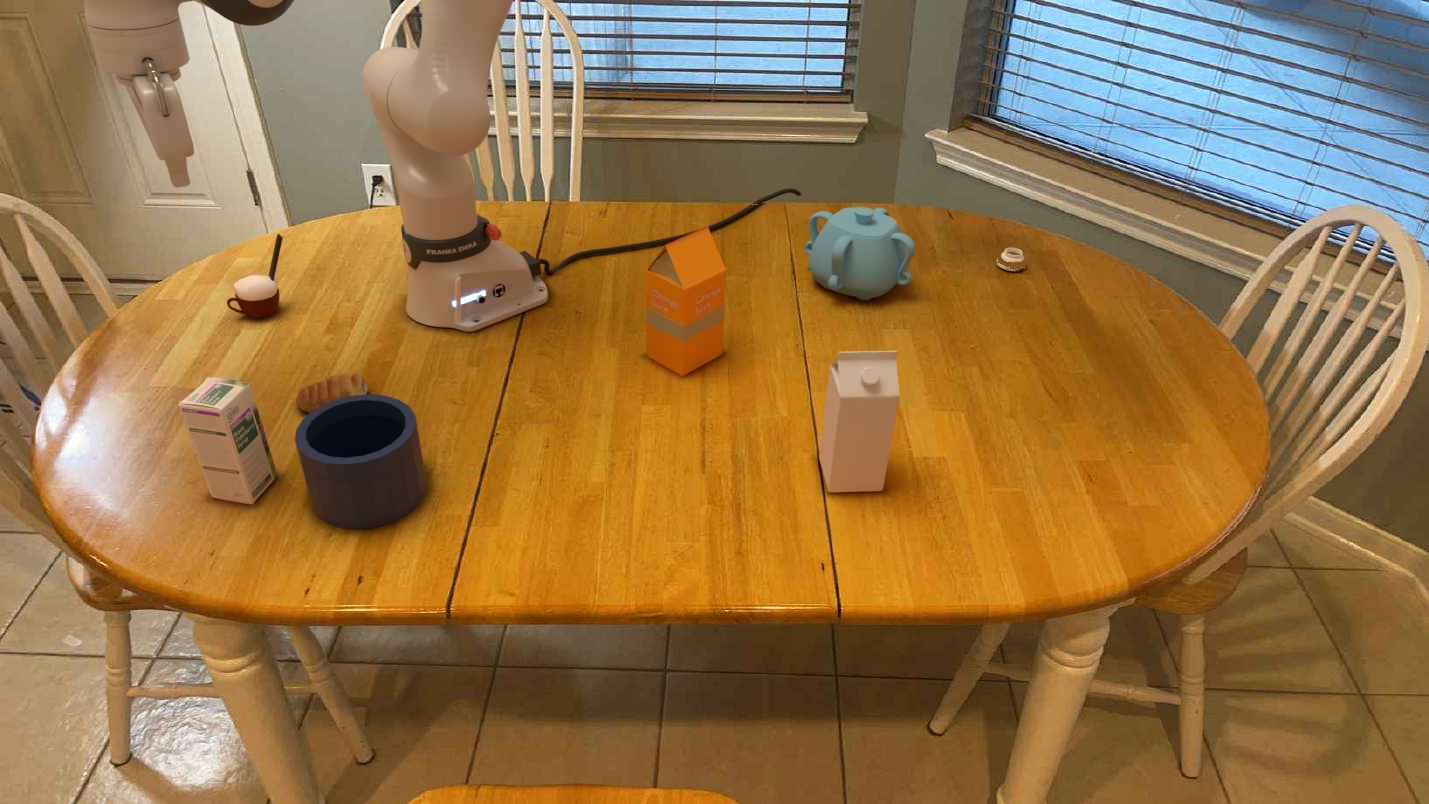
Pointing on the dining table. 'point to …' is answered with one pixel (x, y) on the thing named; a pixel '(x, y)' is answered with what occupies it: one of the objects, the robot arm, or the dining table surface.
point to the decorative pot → (859, 252)
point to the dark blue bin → (362, 460)
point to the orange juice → (686, 303)
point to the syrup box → (229, 439)
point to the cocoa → (259, 290)
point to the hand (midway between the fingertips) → (174, 169)
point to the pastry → (331, 391)
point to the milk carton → (859, 420)
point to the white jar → (1011, 258)
